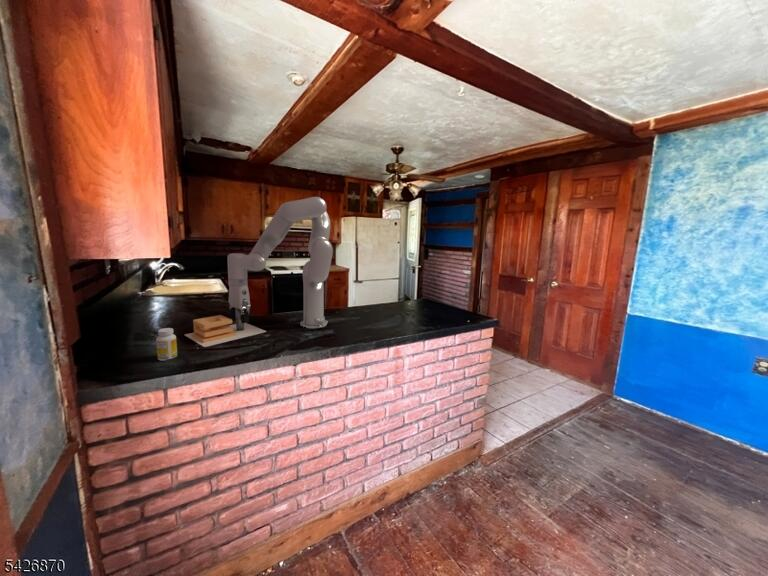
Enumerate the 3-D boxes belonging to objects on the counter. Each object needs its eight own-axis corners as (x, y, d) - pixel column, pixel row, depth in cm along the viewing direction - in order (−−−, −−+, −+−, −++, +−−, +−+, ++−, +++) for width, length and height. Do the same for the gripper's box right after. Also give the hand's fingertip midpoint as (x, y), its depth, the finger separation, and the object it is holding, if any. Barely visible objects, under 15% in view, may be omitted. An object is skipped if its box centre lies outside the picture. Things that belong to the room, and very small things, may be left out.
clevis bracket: (236, 335, 131) (235, 319, 130) (203, 343, 121) (202, 326, 120) (223, 328, 139) (222, 314, 137) (191, 335, 128) (189, 320, 127)
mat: (267, 332, 138) (267, 331, 138) (204, 348, 117) (204, 347, 117) (244, 323, 150) (244, 322, 150) (183, 336, 130) (183, 334, 129)
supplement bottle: (160, 362, 104) (157, 333, 102) (155, 357, 108) (153, 329, 106) (180, 357, 108) (177, 330, 107) (174, 353, 112) (172, 326, 110)
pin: (245, 329, 138) (244, 308, 137) (238, 331, 136) (237, 309, 134) (242, 328, 140) (241, 307, 139) (235, 329, 138) (233, 308, 136)
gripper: (256, 284, 132) (257, 322, 135) (236, 278, 142) (238, 314, 145) (239, 285, 126) (241, 326, 129) (219, 280, 137) (221, 317, 140)
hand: (239, 320), depth 137 cm, fingers open, 9 cm apart
